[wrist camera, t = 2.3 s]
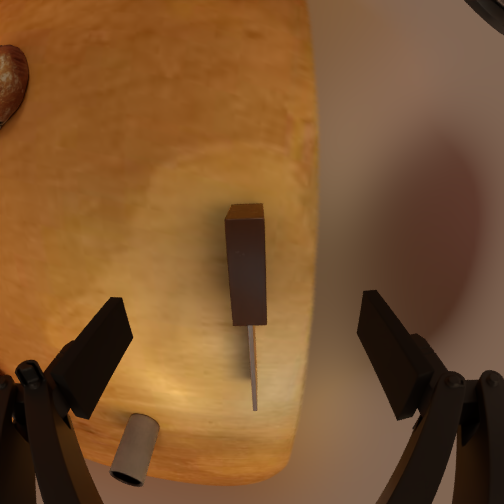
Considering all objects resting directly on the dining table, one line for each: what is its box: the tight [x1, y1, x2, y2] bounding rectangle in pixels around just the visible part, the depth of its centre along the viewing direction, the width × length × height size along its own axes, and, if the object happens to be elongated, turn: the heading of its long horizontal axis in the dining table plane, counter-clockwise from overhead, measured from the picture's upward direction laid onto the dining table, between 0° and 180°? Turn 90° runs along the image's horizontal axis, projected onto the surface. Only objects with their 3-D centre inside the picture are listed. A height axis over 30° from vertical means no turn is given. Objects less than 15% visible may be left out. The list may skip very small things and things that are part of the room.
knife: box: [225, 203, 267, 411], centre depth 23 cm, size 19×2×5 cm, turn 2°
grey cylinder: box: [109, 414, 159, 487], centre depth 28 cm, size 4×4×10 cm
